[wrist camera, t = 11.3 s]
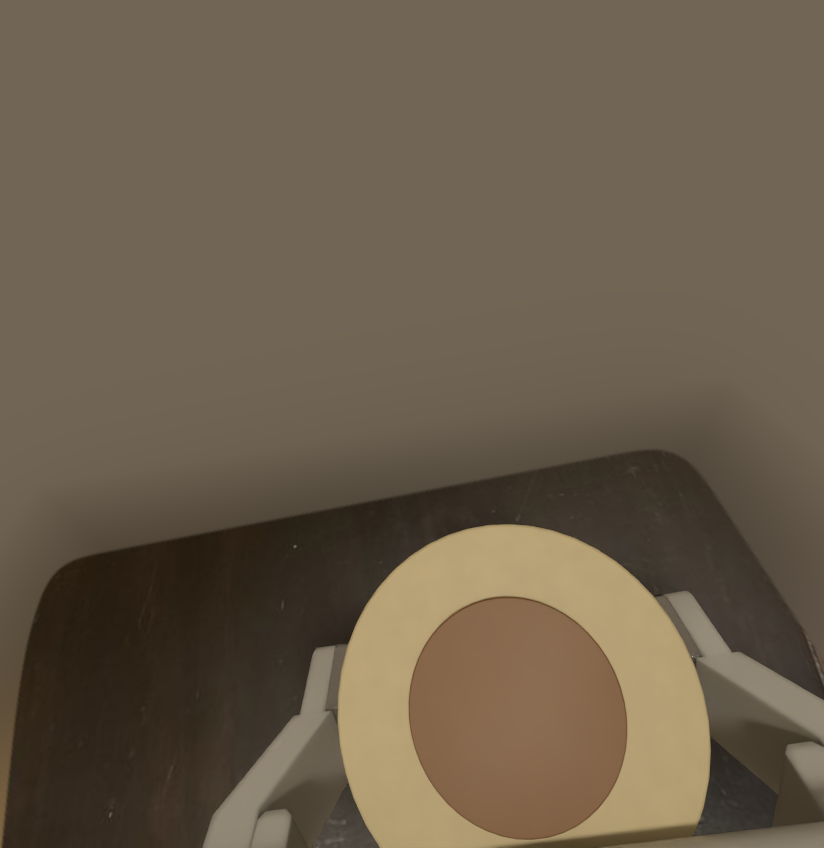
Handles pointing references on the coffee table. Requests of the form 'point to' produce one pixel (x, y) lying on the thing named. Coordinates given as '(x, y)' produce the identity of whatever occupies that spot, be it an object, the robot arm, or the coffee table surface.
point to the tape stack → (520, 701)
